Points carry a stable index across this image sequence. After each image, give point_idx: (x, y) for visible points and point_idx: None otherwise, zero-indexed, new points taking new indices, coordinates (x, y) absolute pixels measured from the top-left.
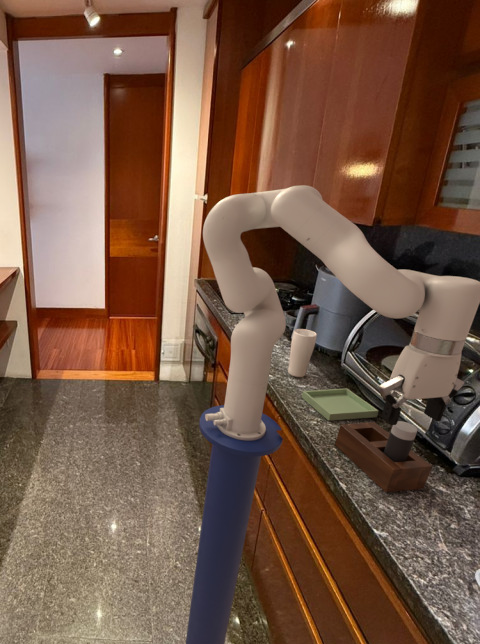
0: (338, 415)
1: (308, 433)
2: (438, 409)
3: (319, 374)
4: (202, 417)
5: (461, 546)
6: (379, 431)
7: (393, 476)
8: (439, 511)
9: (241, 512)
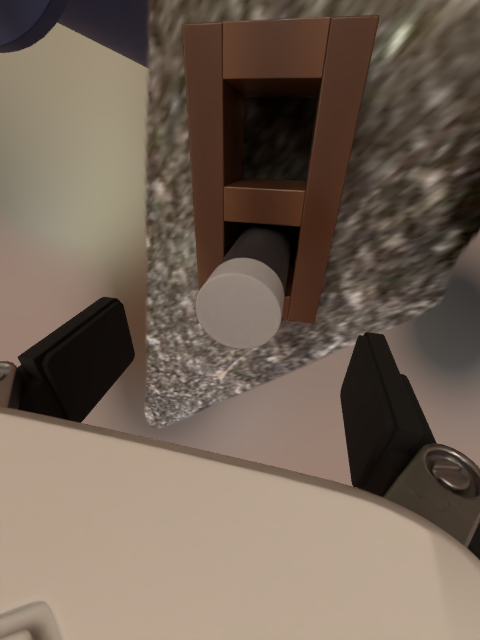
0: None
1: None
2: (350, 442)
3: None
4: None
5: (247, 381)
6: (322, 121)
7: None
8: (281, 335)
9: (144, 59)
